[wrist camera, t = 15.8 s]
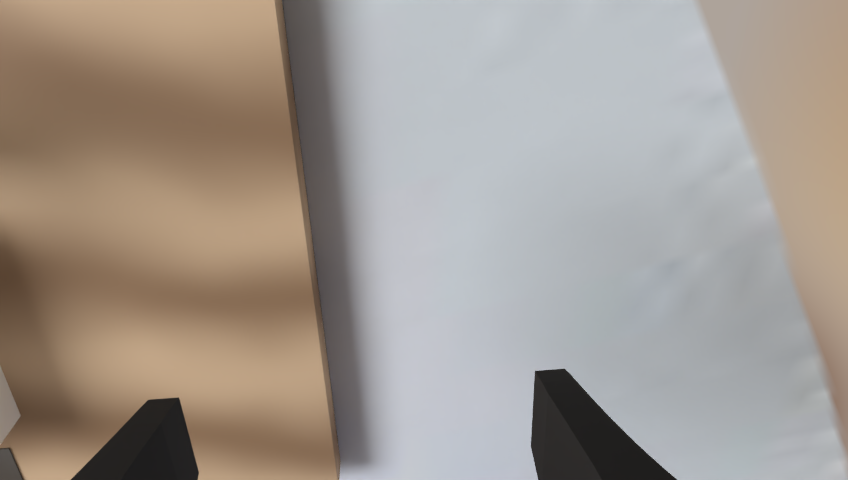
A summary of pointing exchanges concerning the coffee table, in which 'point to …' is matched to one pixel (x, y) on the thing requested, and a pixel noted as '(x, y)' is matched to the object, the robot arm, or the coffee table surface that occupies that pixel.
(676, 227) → the coffee table surface
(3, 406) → the block
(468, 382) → the coffee table surface
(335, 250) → the coffee table surface
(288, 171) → the subfloor board
